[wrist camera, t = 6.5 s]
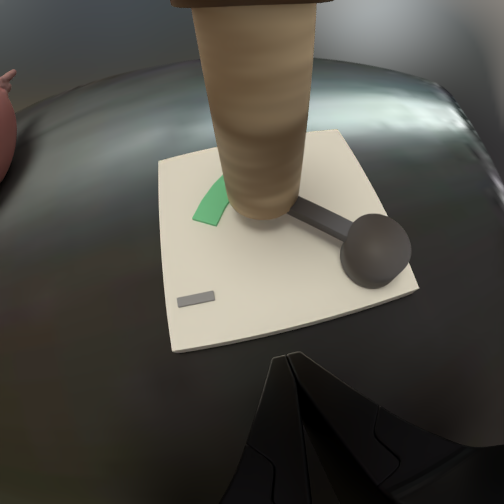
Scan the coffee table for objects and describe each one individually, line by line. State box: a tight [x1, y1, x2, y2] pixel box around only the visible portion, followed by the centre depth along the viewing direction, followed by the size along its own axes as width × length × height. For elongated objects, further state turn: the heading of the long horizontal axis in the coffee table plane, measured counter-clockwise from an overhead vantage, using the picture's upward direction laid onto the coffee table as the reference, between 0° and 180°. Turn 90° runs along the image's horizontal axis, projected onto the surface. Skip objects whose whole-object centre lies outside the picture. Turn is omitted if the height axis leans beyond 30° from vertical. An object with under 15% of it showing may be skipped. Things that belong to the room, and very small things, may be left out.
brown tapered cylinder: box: [170, 0, 411, 289], centre depth 10 cm, size 11×5×14 cm, turn 58°
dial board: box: [159, 129, 419, 353], centre depth 17 cm, size 14×14×1 cm
